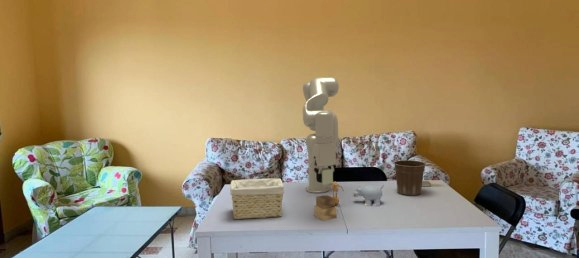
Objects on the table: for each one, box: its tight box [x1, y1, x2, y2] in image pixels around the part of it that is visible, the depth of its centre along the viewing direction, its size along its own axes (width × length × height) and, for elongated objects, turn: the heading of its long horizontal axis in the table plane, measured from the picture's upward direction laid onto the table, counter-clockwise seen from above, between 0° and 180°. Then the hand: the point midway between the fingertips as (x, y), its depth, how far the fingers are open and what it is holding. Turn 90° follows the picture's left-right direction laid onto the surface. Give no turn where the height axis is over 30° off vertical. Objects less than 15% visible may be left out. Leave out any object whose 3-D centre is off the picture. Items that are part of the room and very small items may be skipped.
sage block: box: [318, 167, 334, 185], centre depth 171 cm, size 5×5×6 cm
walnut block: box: [315, 194, 336, 209], centre depth 172 cm, size 6×6×4 cm
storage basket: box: [229, 178, 285, 220], centre depth 179 cm, size 24×16×15 cm
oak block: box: [314, 204, 338, 221], centre depth 173 cm, size 7×7×5 cm
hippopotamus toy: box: [352, 183, 385, 207], centre depth 191 cm, size 11×15×10 cm
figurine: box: [327, 181, 345, 206], centre depth 188 cm, size 8×6×12 cm
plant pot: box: [393, 159, 427, 197], centre depth 205 cm, size 16×16×16 cm
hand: (324, 180), depth 171 cm, fingers closed on sage block, 5 cm apart
